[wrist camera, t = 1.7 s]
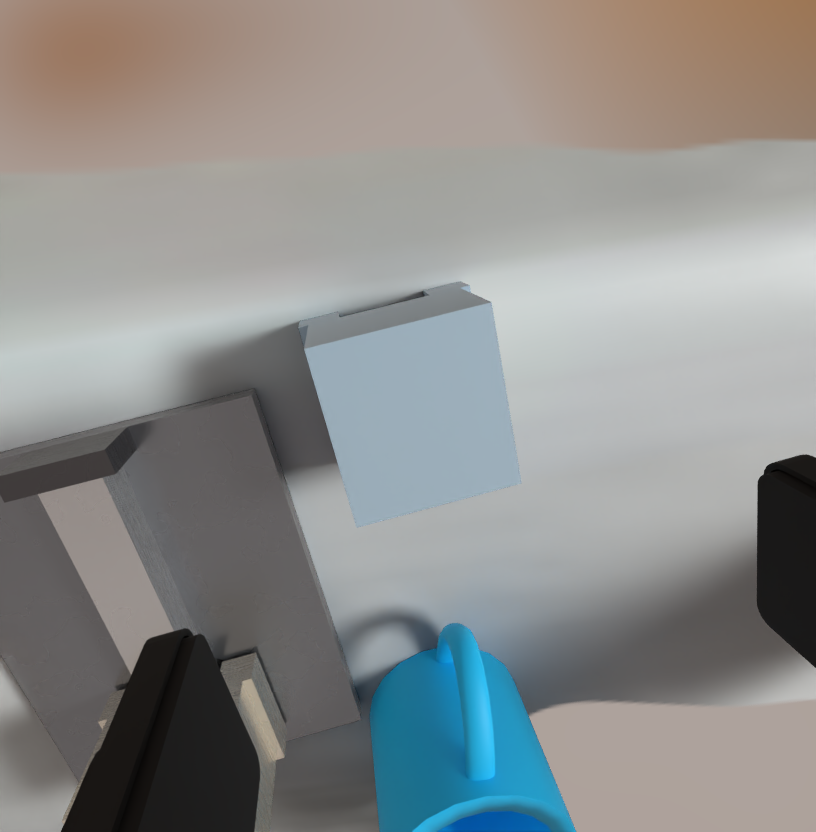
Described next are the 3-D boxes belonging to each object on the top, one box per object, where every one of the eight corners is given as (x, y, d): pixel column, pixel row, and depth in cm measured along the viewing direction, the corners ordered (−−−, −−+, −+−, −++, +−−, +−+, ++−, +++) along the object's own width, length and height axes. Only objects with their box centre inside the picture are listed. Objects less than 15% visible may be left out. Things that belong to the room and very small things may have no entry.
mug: (511, 751, 32) (569, 915, 25) (371, 770, 31) (386, 948, 23) (524, 576, 28) (597, 706, 21) (364, 591, 27) (379, 734, 20)
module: (460, 281, 23) (503, 299, 17) (486, 423, 25) (532, 480, 20) (299, 320, 23) (291, 352, 17) (341, 461, 25) (345, 530, 19)
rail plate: (254, 388, 23) (224, 455, 16) (360, 704, 29) (370, 846, 23) (-87, 474, 22) (-265, 581, 16) (96, 779, 29) (25, 951, 22)
